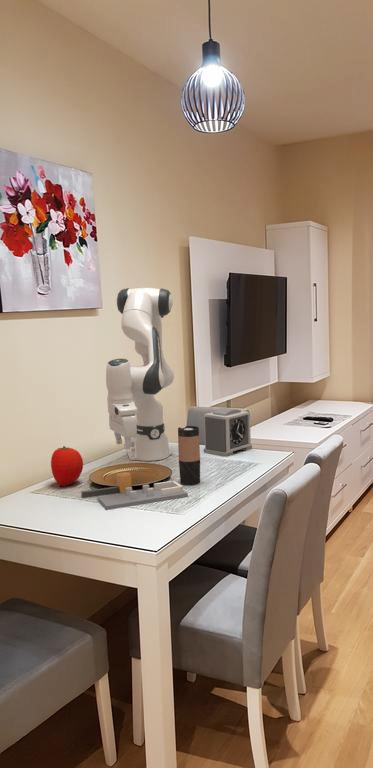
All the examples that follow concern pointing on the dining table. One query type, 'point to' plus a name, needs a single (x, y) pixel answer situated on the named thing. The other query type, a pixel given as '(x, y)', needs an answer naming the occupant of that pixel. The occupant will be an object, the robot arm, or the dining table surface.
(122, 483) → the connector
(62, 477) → the red apple
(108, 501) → the clip board
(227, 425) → the alarm clock
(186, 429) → the travel mug
